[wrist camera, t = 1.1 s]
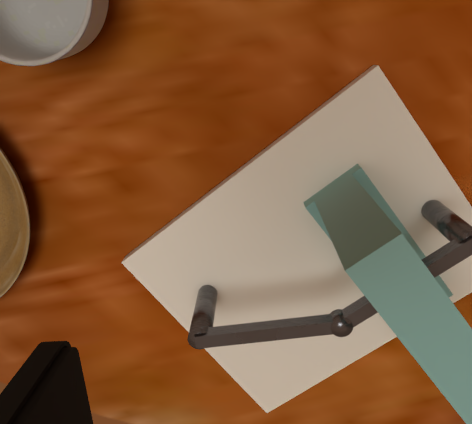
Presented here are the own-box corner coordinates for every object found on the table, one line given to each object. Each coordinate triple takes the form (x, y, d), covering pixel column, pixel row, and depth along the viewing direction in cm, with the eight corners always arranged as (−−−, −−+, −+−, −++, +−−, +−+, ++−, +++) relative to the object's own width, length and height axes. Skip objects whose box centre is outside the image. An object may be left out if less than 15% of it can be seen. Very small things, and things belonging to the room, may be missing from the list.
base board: (373, 64, 38) (378, 65, 36) (503, 261, 44) (512, 268, 42) (125, 256, 45) (121, 262, 43) (266, 403, 51) (266, 413, 49)
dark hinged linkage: (439, 195, 40) (485, 229, 32) (453, 241, 42) (500, 284, 34) (194, 288, 44) (182, 338, 36) (215, 326, 46) (207, 382, 38)
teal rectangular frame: (357, 163, 39) (417, 223, 25) (446, 287, 43) (541, 398, 29) (303, 202, 41) (331, 279, 27) (394, 318, 45) (461, 439, 31)
